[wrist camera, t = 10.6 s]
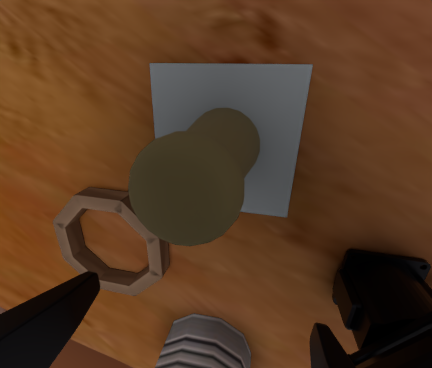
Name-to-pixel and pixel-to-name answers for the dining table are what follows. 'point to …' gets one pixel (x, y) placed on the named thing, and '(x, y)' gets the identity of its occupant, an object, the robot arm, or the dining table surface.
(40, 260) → the dining table surface
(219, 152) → the cork
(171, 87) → the slate mat
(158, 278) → the walnut holder
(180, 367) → the can
